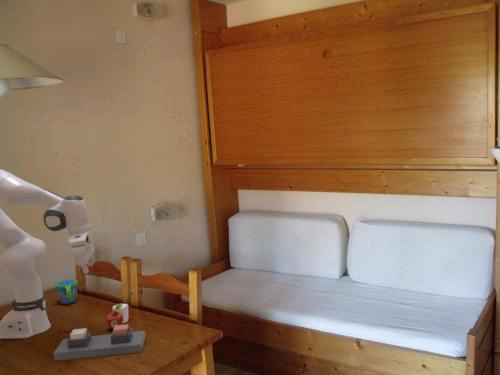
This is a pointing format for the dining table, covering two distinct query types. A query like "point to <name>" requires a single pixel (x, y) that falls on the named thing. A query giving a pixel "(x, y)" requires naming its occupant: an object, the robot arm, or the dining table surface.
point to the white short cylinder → (122, 311)
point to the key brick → (121, 329)
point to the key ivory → (78, 334)
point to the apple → (115, 317)
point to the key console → (100, 345)
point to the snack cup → (67, 291)
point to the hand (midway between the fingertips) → (88, 269)
